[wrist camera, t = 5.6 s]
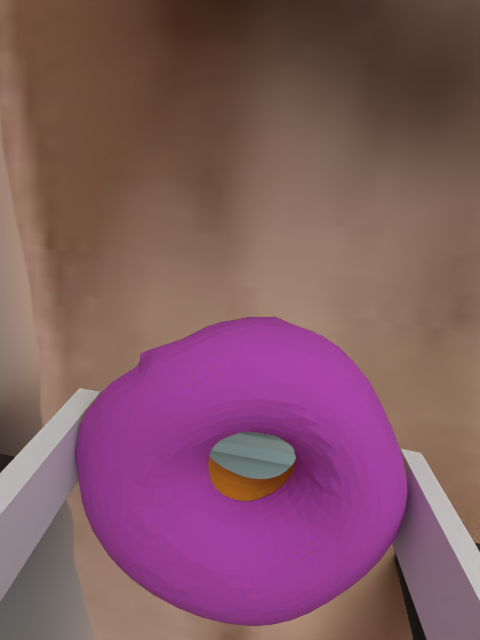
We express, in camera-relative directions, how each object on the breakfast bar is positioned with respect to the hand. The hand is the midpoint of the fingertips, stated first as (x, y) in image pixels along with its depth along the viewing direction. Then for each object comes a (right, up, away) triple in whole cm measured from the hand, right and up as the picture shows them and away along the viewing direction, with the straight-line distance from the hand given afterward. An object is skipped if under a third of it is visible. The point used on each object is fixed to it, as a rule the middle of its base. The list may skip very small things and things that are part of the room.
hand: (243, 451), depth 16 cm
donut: (0, 0, +1) cm, 1 cm away
